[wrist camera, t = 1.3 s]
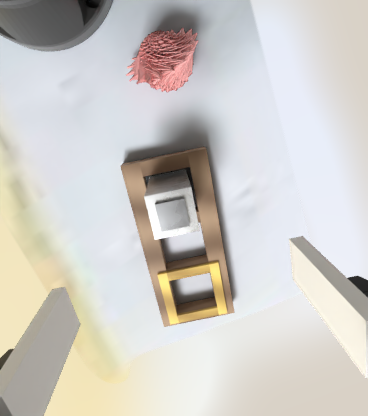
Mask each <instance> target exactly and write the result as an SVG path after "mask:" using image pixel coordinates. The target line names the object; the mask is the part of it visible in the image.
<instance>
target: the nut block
mask: <svg viewBox="0 0 368 416" xmlns="http://www.w3.org/2000/svg"><path fill="white" fill-rule="evenodd" d="M144 199H145V203H146V207H147V210H148V214H149V218H150V222H151V226H152V230H153V234H154V238H155V240H157V239H161V238H166V237H171V236H176V235H181V234H186V233H191V232H195V231H200V229H199V224H198V219H197V214H196V209H195V204H194V198H193V193H192V188H191V185H190V182H189V179H188V176H187V172H186V169H185V170H180V171H175V172H170V173H165V174H161V175H156V176H151V177H150V178H149V181H148V185H147V188H146V192H145V195H144Z"/></svg>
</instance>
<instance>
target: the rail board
mask: <svg viewBox="0 0 368 416" xmlns="http://www.w3.org/2000/svg"><path fill="white" fill-rule="evenodd" d="M188 167H190V172H191V177H192V182H193V187H194V192H195V198H196V203H197V207H195V209H196V214H197V219H198V223H199V222H200V223H201V229H202V234H203V239H204V244H205V249H206V255H201V256H196V257H191V258H186V259H181V260H177V261H172V262H167V263H166V259H165V255H164V251H163V247H162V243H161V239H157V240H155V238H154V234H153V230H152V226H151V222H150V218H149V214H148V210H147V207H146V203H145V199H144V195H145V192H146V188H147V182H146V178H145V176H149V175H154V174H159V173H164V172H168V171H173V170H178V169H183V168H188ZM121 170H122V174H123V177H124V181H125V185H126V188H127V192H128V196H129V199H130V203H131V207H132V210H133V214H134V218H135V221H136V225H137V229H138V232H139V236H140V240H141V243H142V247H143V251H144V255H145V258H146V262H147V266H148V269H149V273H150V277H151V280H152V284H153V288H154V291H155V295H156V299H157V302H158V306H159V310H160V313H161V317H162V321H163V324H164V327H166V326H171V325H176V324H181V323H186V322H191V321H196V320H201V319H206V318H211V317H215V316H220V315H225V314H230V313H234V307H233V301H232V296H231V290H230V284H229V278H228V272H227V266H226V260H225V255H224V249H223V243H222V237H221V231H220V225H219V219H218V214H217V208H216V202H215V196H214V190H213V184H212V178H211V173H210V167H209V161H208V155H207V149H206V148H205V147H200V148H195V149H190V150H186V151H181V152H176V153H171V154H166V155H162V156H157V157H152V158H147V159H142V160H138V161H133V162H128V163H123V164H122V165H121ZM206 273H210V275H211V280H212V285H213V291H214V296H215V297H212V298H207V299H202V300H197V301H192V302H187V303H182V304H178V305H177V304H176V300H175V296H174V292H173V288H172V284H171V280H176V279H181V278H186V277H191V276H196V275H201V274H206Z"/></svg>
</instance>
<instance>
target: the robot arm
mask: <svg viewBox="0 0 368 416" xmlns="http://www.w3.org/2000/svg"><path fill="white" fill-rule="evenodd" d="M111 3H112V0H0V35H1V36H3V37H5V38H7V39H9V40H11V41H13V42H15V43H17V44H19V45H22V46H24V47H27V48H30V49H34V50H40V51H60V50H65V49H68V48H71V47H74V46H76V45H78V44H80V43H82V42H83V41H85V40H86V39H88V38H89V37H90V36H91V35H92V34H93V33H94V32H95V31H96V30H97V29H98V28H99V26H100V25H101V24H102V22H103V21H104V19H105V17H106V15H107V13H108V11H109V9H110V6H111ZM289 242H290V253H291V264H292V274H293V280H294V282H295V283H296V284H297V286H298V287H299V288H300V290H301V291H302V293H303V294H304V295H305V297H306V298H307V299H308V301H309V302H310V303H311V305H312V306H313V308H314V309H315V310H316V312H317V313H318V314H319V316H320V317H321V318H322V320H323V321H324V322H325V324H326V325H327V327H328V328H329V329H330V331H331V332H332V333H333V335H334V336H335V337H336V339H337V340H338V341H339V343H340V344H341V346H342V347H343V348H344V350H345V351H346V352H347V354H348V355H349V357H350V358H351V359H352V360H353V362H354V363H355V365H356V366H357V367H358V369H359V370H360V371H361V373H362V374H363V376H364V377H365V378H368V280H366V279H364V278H362V277H359V276H354V277H349V278H346V277H345V276H344V275H343V274H342V273H341V272H340V271H339V270H338V269H337V268H336V267H335V266H334V265H333V264H331V263H330V262H329V261H328V260H327V259H326V258H325V257H324V256H323V255H322V254H321V253H320V252H319V251H318V250H317V249H315V247H313V246H312V245H311V244H310V243H309V242H308V241H307V240H306V239H305V238H304V237H303V236H301V237H296V238H291V239H289ZM79 327H80V322H79V319H78V317H77V315H76V312H75V310H74V307H73V305H72V303H71V300H70V298H69V295H68V293H67V291H66V288H65V287H61V288H57V289H52V290H51V292H50V293H49V295H48V297H47V298H46V300H45V301H44V303H43V304H42V306H41V308H40V309H39V311H38V312H37V314H36V315H35V317H34V319H33V320H32V322H31V323H30V325H29V326H28V328H27V330H26V331H25V333H24V334H23V336H22V337H21V339H20V340H19V342H18V343H17V345H16V347H15V348H14V349H10V350H8V351H7V352H6V353H5V354H4V355H3V356H2V357H1V358H0V416H44V413H45V411H46V409H47V406H48V404H49V401H50V399H51V396H52V393H53V391H54V389H55V386H56V384H57V381H58V379H59V376H60V374H61V371H62V369H63V366H64V364H65V362H66V359H67V357H68V354H69V352H70V349H71V346H72V344H73V342H74V339H75V337H76V334H77V332H78V329H79Z"/></svg>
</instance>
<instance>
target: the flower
mask: <svg viewBox="0 0 368 416" xmlns="http://www.w3.org/2000/svg"><path fill="white" fill-rule="evenodd" d="M197 34H198V33H195V34H193V35H192V29H190V30H189V31H188V32H186V33H185V31H184V28H182V29H181V30H180V31H179V32H178V33H177V34H176V33H175V32H174V31H173V30H171V32H169V31H166V32H164V31H161V30H160V31H155V32H152V33H151V34H149V35H148V36H147V37H146V38H145V39H144V41H143V42H142V43H141V46H140V49H139V52H138V53H139V54H138V56H137V57H135V58H132V60H135V61H134V62H133V63H132V64H131V65H130V66H128V67H127V68H133V69H132V70H131V71H130V72H129V73H128V74H127V75H128V76H129V75H132V74H134V75H133V77H132V78H131V79H130V81H132V80H138V82H137V83H136V84H138V83H142V82H147V83H149V84H150V86H151V88H152V87H153V88H155V89H156V90H157V89H160V88H161V90H162V92H163V91H165V90H166V92H169V91H172V90H175V91H176V90H177V89H178V88H180V87H182V86H183V85H184V83H185V82H187V81H188V77H189V76H190V75H191V74H192V65H193V52H194V51H195V50H194V49H195V47H196V45H197V43H198V40H197V41H195V39H196V36H197ZM127 75H126V76H127Z"/></svg>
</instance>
